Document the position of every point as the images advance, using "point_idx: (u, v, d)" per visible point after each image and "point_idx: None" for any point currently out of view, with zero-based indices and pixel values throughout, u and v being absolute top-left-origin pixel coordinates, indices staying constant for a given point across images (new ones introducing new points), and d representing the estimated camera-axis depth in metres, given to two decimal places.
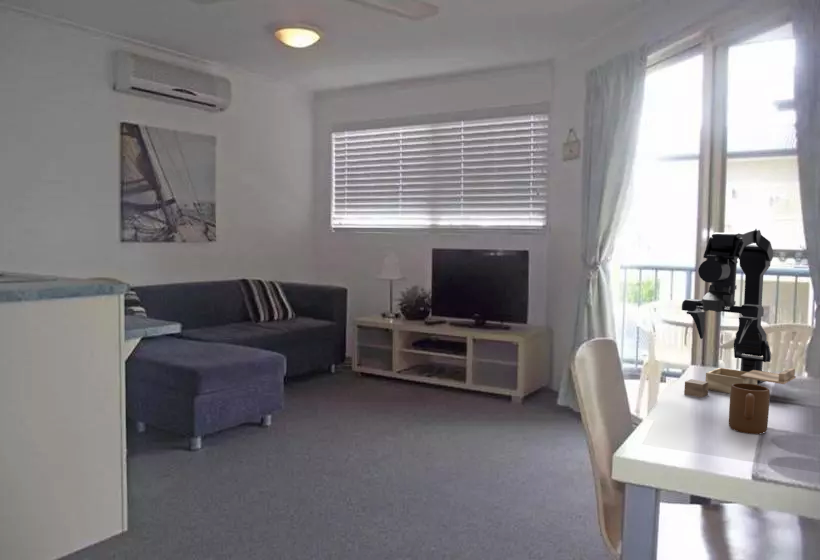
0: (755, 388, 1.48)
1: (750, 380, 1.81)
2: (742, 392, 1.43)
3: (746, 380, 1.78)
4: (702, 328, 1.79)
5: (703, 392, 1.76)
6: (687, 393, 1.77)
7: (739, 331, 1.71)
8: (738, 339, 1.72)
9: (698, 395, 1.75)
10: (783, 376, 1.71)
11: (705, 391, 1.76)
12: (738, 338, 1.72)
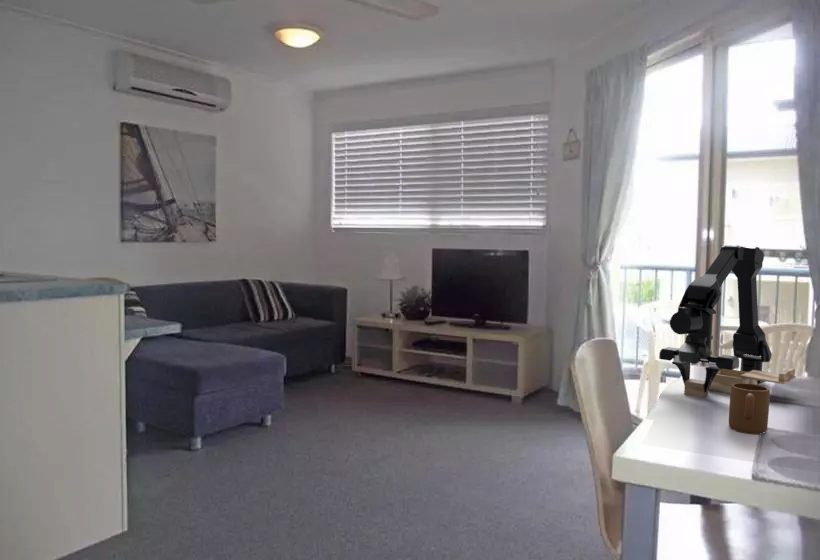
0: (755, 388, 1.48)
1: (750, 380, 1.81)
2: (742, 392, 1.43)
3: (746, 380, 1.78)
4: (687, 378, 1.79)
5: (703, 391, 1.75)
6: (687, 392, 1.77)
7: (706, 380, 1.75)
8: (705, 388, 1.76)
9: (698, 394, 1.75)
10: (783, 376, 1.71)
11: None
12: (705, 387, 1.75)
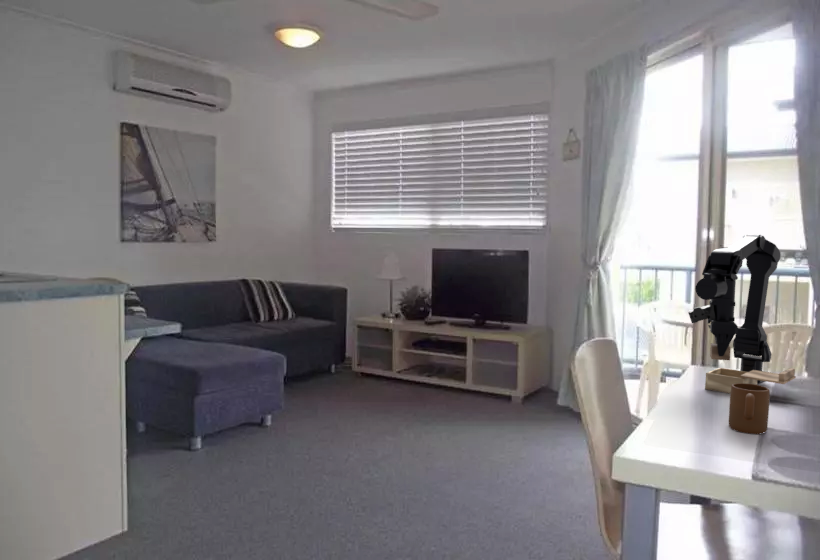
0: (755, 388, 1.48)
1: (750, 380, 1.81)
2: (742, 392, 1.43)
3: (746, 380, 1.78)
4: None
5: (716, 354, 1.81)
6: (710, 354, 1.85)
7: None
8: (718, 352, 1.80)
9: (711, 356, 1.82)
10: (783, 376, 1.71)
11: None
12: None
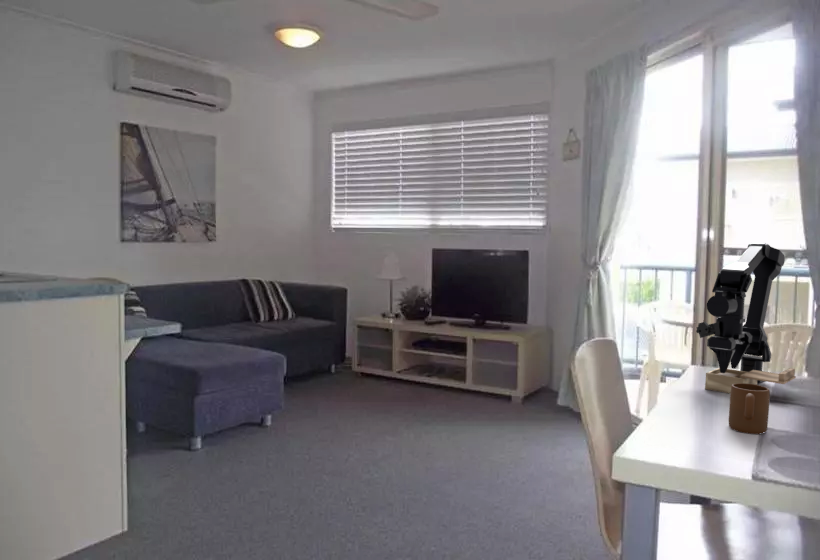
0: (755, 388, 1.48)
1: (750, 380, 1.81)
2: (742, 392, 1.43)
3: (746, 380, 1.78)
4: (734, 359, 1.88)
5: None
6: None
7: None
8: None
9: None
10: (783, 376, 1.71)
11: None
12: None
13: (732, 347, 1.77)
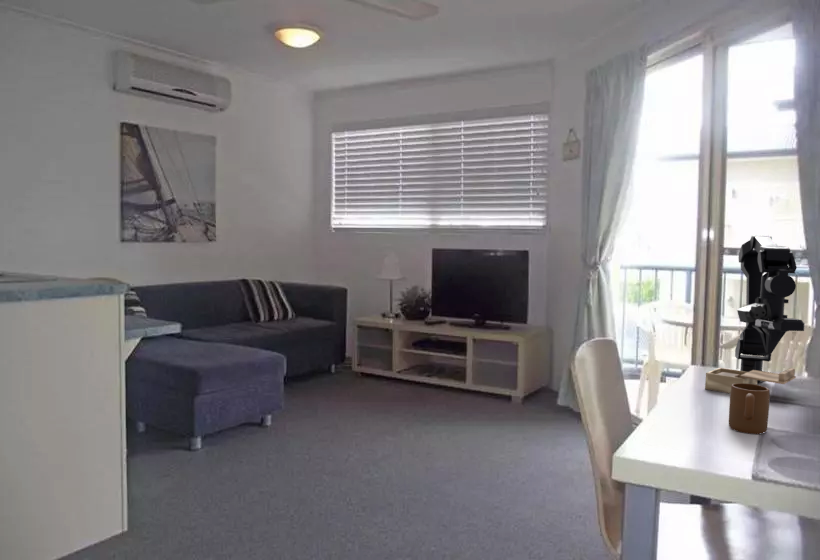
0: (755, 388, 1.48)
1: (750, 380, 1.81)
2: (742, 392, 1.43)
3: (746, 380, 1.78)
4: None
5: None
6: None
7: (766, 341, 1.77)
8: (767, 349, 1.77)
9: None
10: (783, 376, 1.71)
11: None
12: (767, 348, 1.77)
13: None
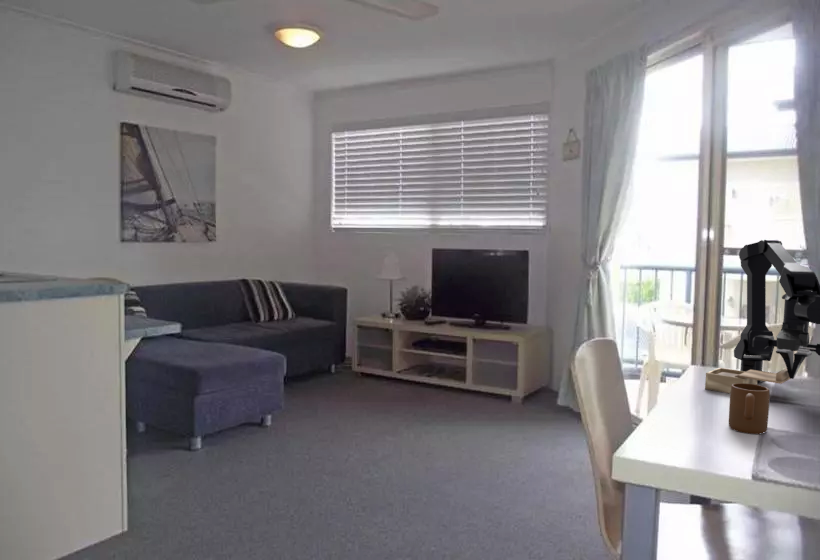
0: (755, 388, 1.48)
1: (750, 380, 1.81)
2: (742, 392, 1.43)
3: (746, 380, 1.78)
4: (792, 368, 1.75)
5: None
6: None
7: (794, 367, 1.73)
8: (793, 375, 1.74)
9: None
10: (780, 376, 1.72)
11: None
12: (793, 373, 1.74)
13: None
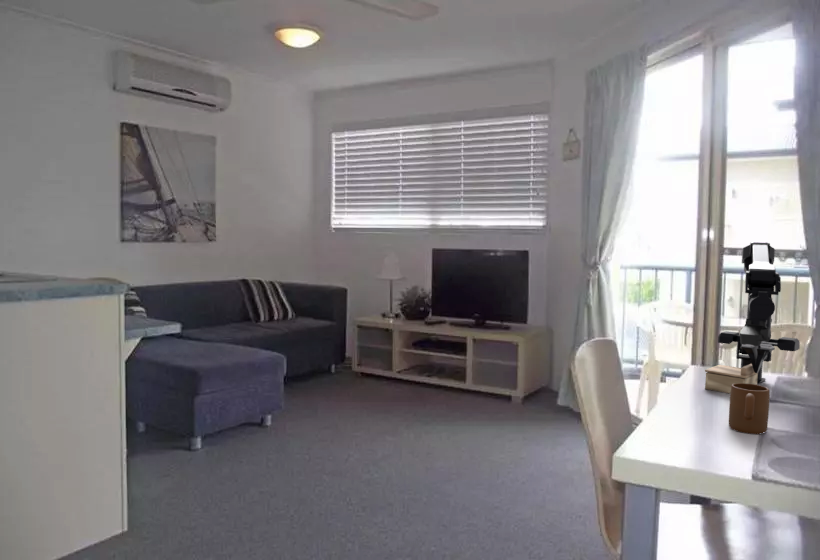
0: (755, 388, 1.48)
1: (750, 380, 1.81)
2: (742, 392, 1.43)
3: (746, 380, 1.78)
4: None
5: None
6: None
7: (757, 361, 1.79)
8: (757, 369, 1.80)
9: None
10: (745, 370, 1.77)
11: None
12: (756, 368, 1.79)
13: None
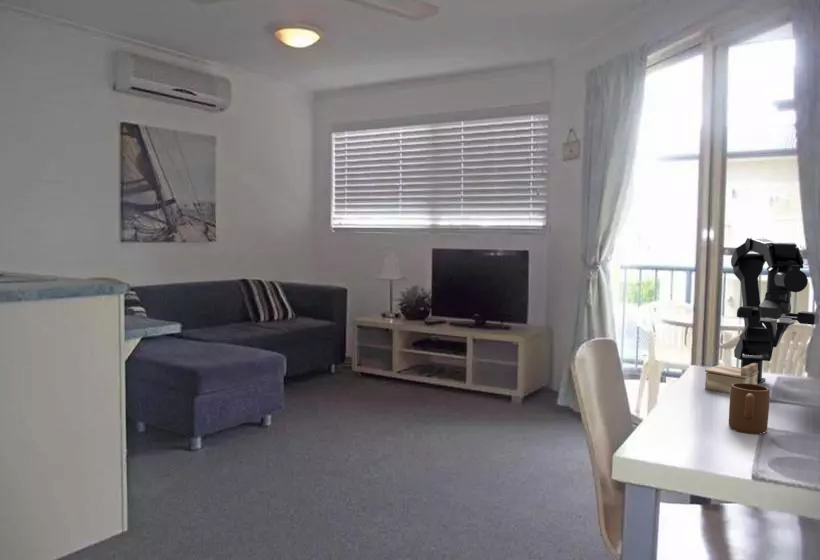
0: (754, 388, 1.48)
1: (750, 380, 1.81)
2: (742, 392, 1.43)
3: (746, 380, 1.78)
4: None
5: None
6: None
7: (776, 335, 1.80)
8: (776, 343, 1.80)
9: None
10: (745, 370, 1.77)
11: None
12: (775, 342, 1.80)
13: None
